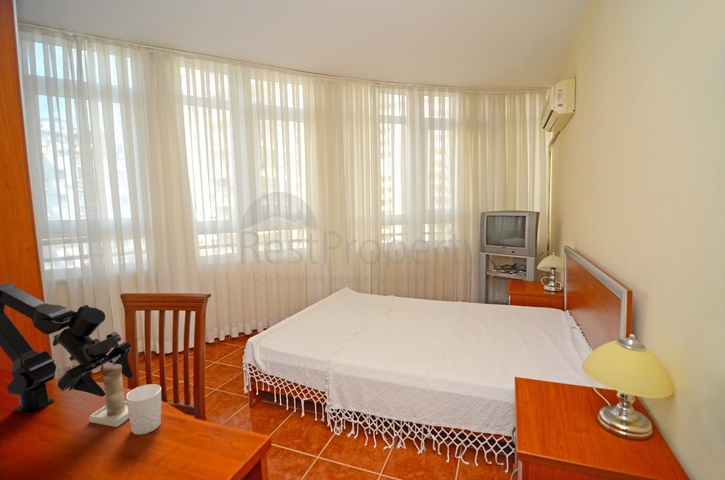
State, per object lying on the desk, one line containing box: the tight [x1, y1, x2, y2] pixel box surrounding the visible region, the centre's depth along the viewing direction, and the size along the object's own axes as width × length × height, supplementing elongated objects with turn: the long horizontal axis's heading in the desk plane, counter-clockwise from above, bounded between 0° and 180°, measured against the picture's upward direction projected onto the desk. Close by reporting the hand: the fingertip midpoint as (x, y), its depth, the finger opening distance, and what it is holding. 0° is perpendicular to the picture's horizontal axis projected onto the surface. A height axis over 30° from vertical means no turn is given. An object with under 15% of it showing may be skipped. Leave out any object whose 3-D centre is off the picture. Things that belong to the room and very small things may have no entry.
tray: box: [88, 400, 130, 428], centre depth 97 cm, size 9×8×2 cm
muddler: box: [101, 363, 126, 416], centre depth 96 cm, size 5×5×13 cm
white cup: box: [125, 383, 162, 436], centre depth 92 cm, size 8×8×10 cm
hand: (118, 386), depth 96 cm, fingers open, 9 cm apart
